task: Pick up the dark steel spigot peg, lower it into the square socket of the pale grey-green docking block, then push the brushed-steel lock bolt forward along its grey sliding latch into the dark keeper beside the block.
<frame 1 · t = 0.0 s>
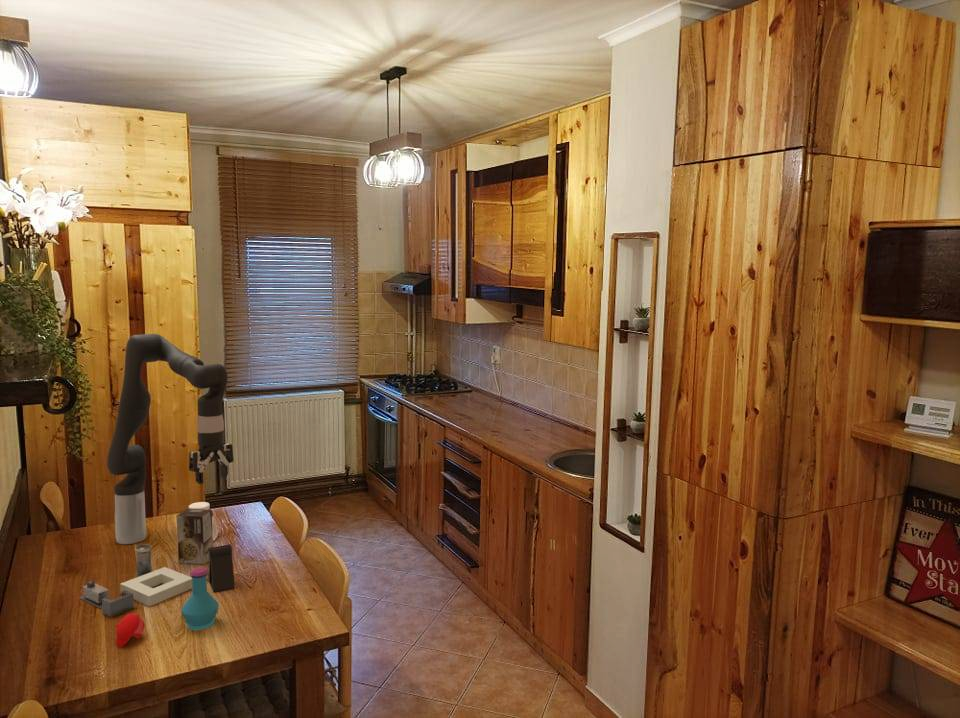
hand: (212, 480, 212), 29 cm above the table, fingers open, 8 cm apart
phone stand: (221, 585, 206), on the table
coffee box: (196, 560, 224), on the table
bolt: (95, 590, 195), point 3 cm above the table, slide at 0.0 cm
socket: (157, 590, 202), on the table
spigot: (144, 575, 212), on the table
cap: (129, 640, 175), on the table
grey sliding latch: (104, 603, 193), on the table
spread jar: (203, 538, 242), on the table
perfume bottle: (200, 624, 183), on the table
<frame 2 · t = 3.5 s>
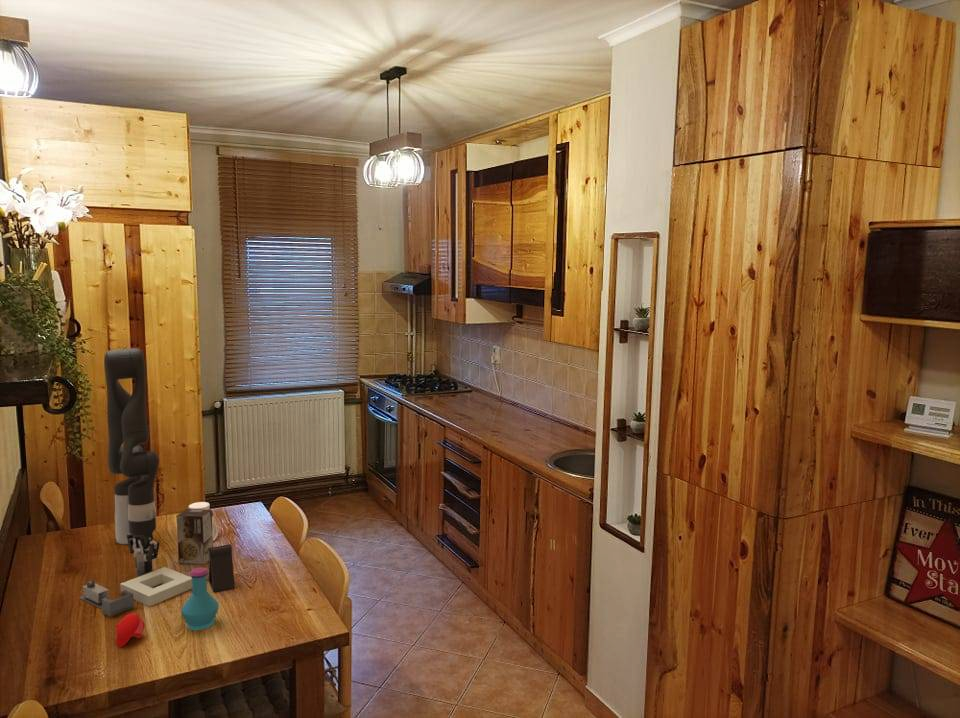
hand: (144, 569, 212), 2 cm above the table, fingers closed on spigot, 4 cm apart
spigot: (144, 575, 212), on the table, touching gripper
everything else where it was.
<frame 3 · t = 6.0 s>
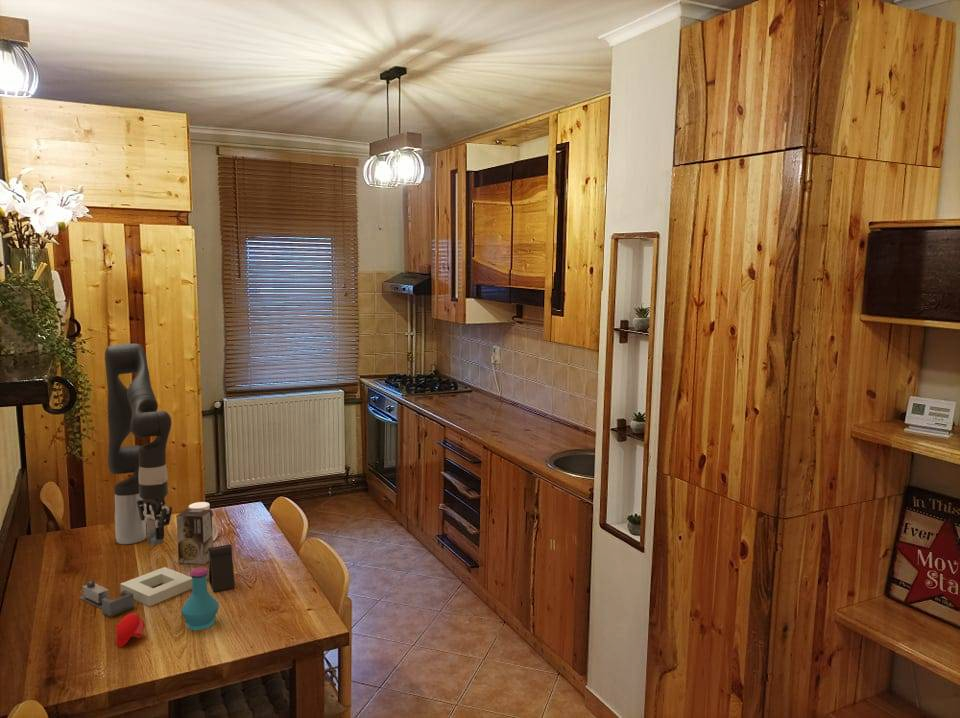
hand: (155, 536, 200), 16 cm above the table, fingers closed on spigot, 4 cm apart
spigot: (155, 542, 200), point 15 cm above the table, touching gripper
everything else where it was.
when the fingers open (4 cm above the table, at t = 8.5 s): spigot drops 2 cm, resting in socket.
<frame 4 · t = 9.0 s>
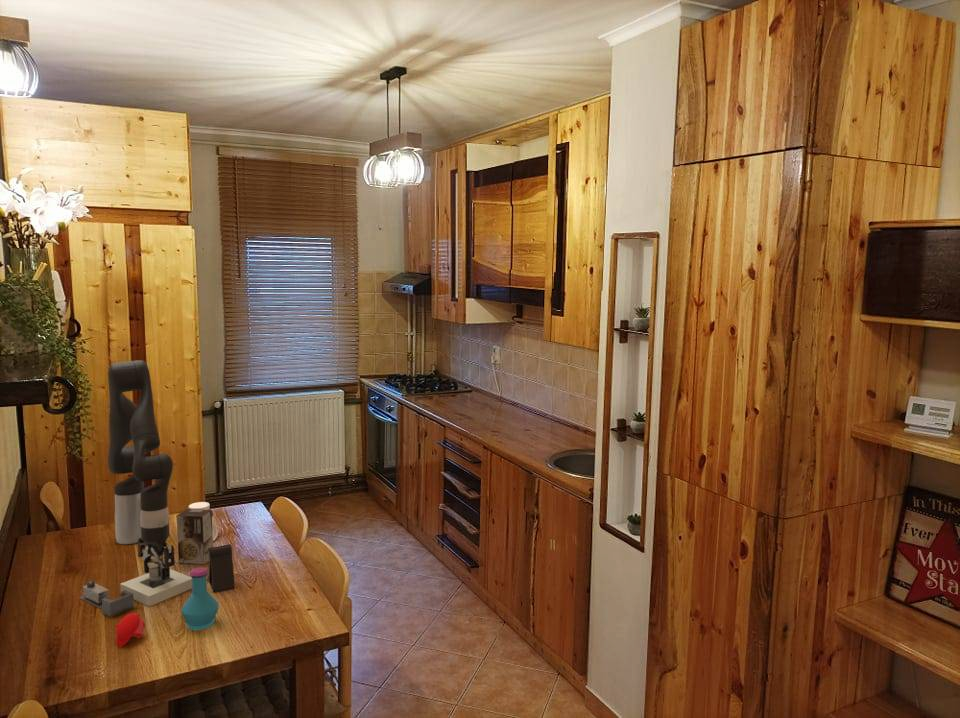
hand: (157, 575, 201), 5 cm above the table, fingers open, 8 cm apart
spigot: (157, 590, 202), resting in socket
everything else where it was.
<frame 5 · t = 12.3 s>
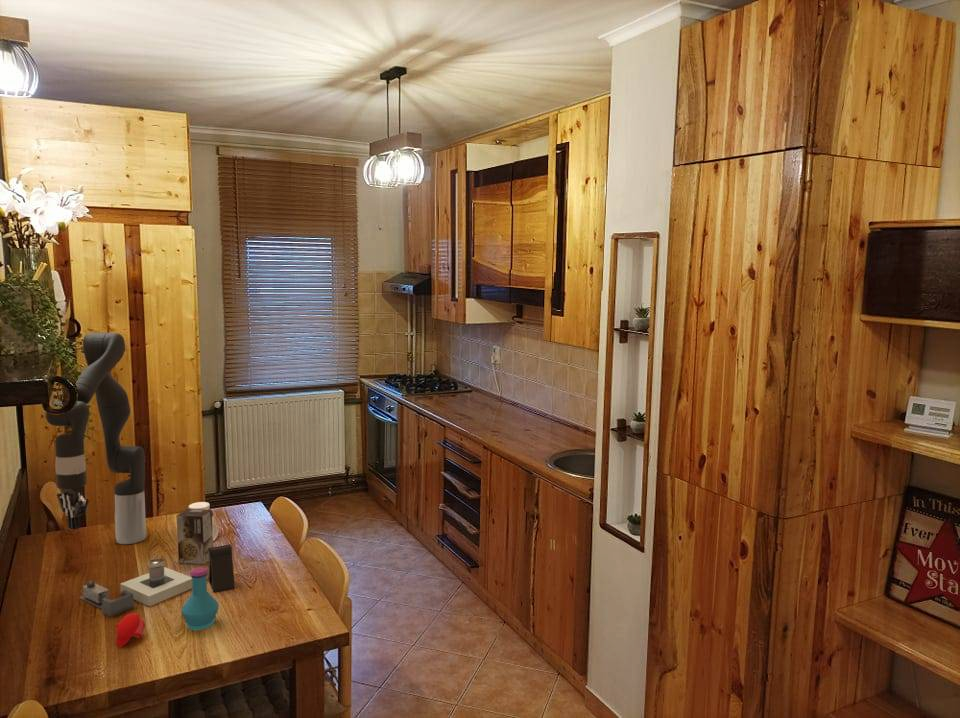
hand: (74, 528, 198), 19 cm above the table, fingers closed
nothing on the table moved.
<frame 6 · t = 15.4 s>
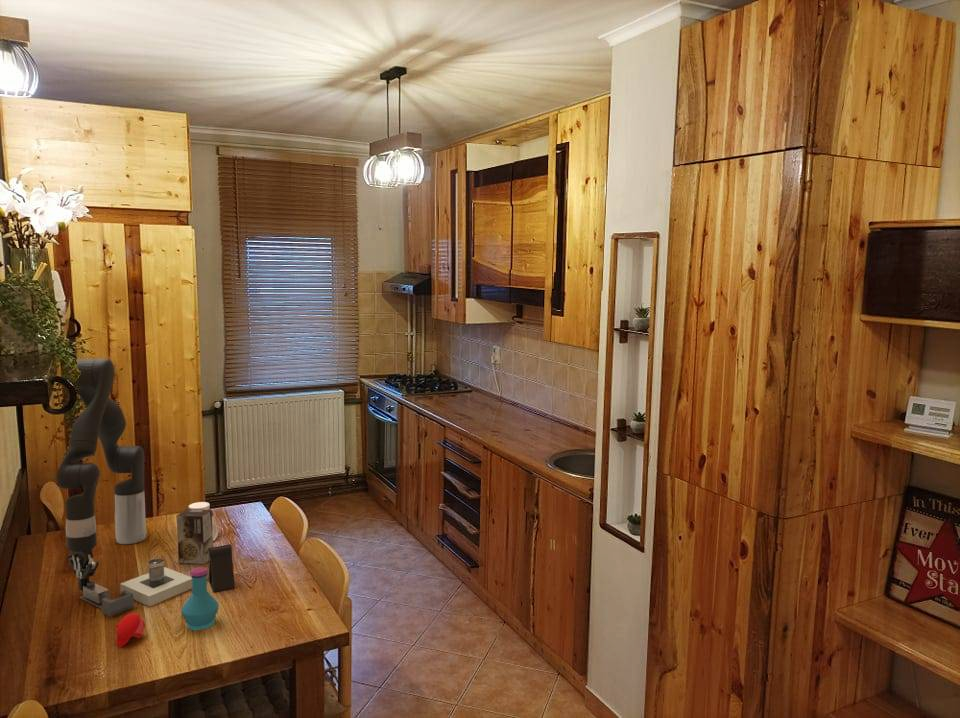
hand: (84, 589, 198), 2 cm above the table, fingers closed
bolt: (95, 591, 195), point 3 cm above the table, slide at 0.0 cm, touching gripper
everything else where it was.
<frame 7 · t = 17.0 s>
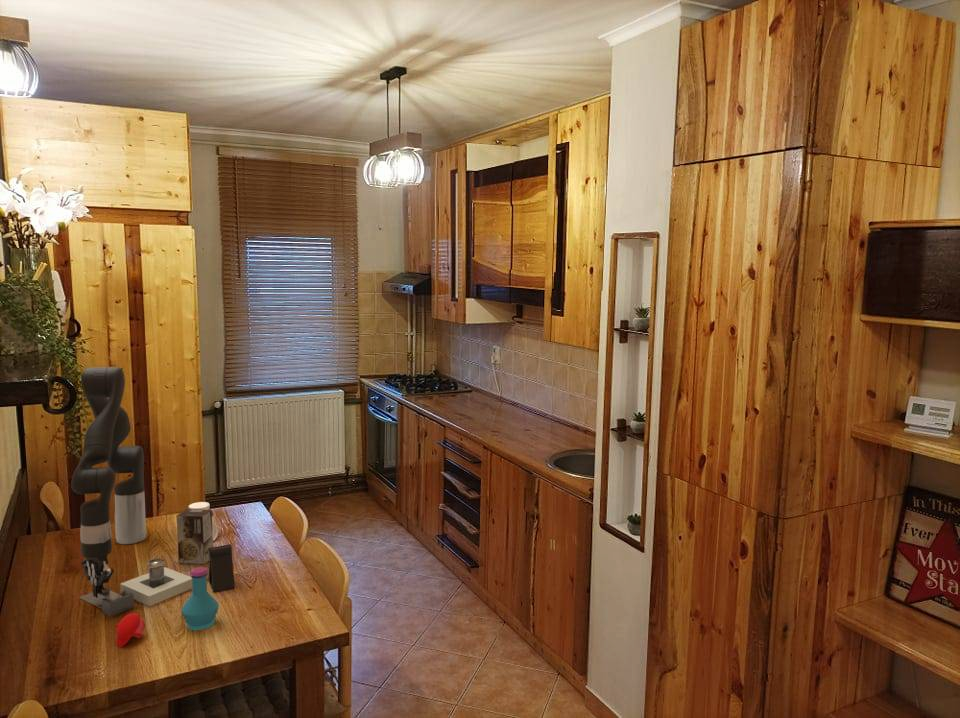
hand: (98, 596, 194), 2 cm above the table, fingers closed
bolt: (110, 597, 191), point 3 cm above the table, slide at 7.6 cm, touching gripper
everything else where it was.
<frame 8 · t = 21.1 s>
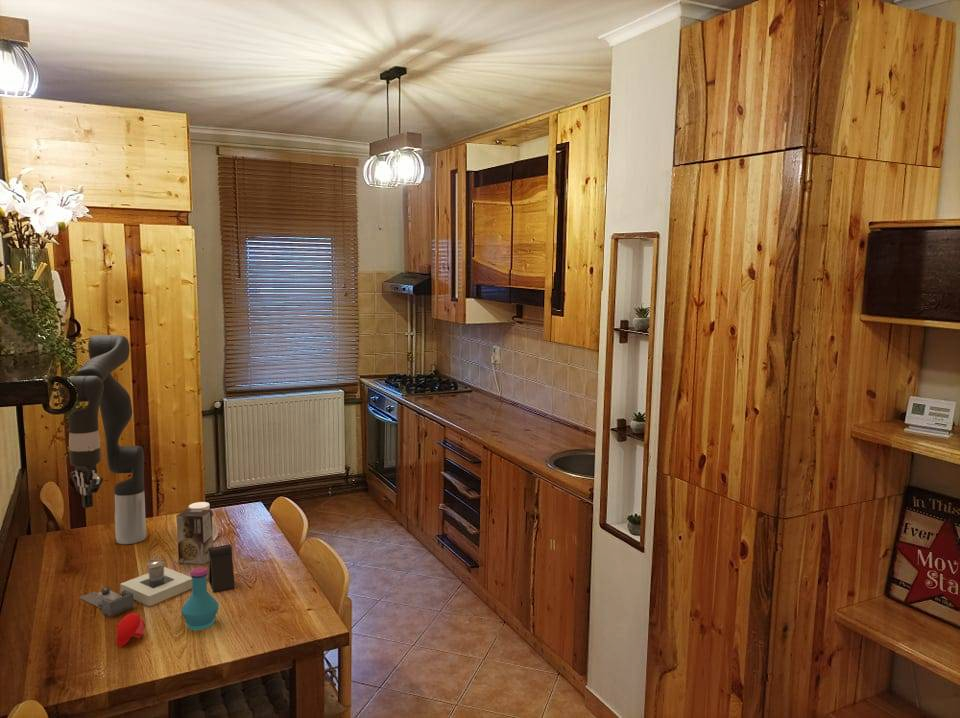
hand: (87, 506, 193), 27 cm above the table, fingers closed
bolt: (110, 597, 191), point 3 cm above the table, slide at 7.5 cm
everything else where it was.
at the end: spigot 0.0 cm from the socket (horizontally); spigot tilted 1°; bolt slide at 7.5 cm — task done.
